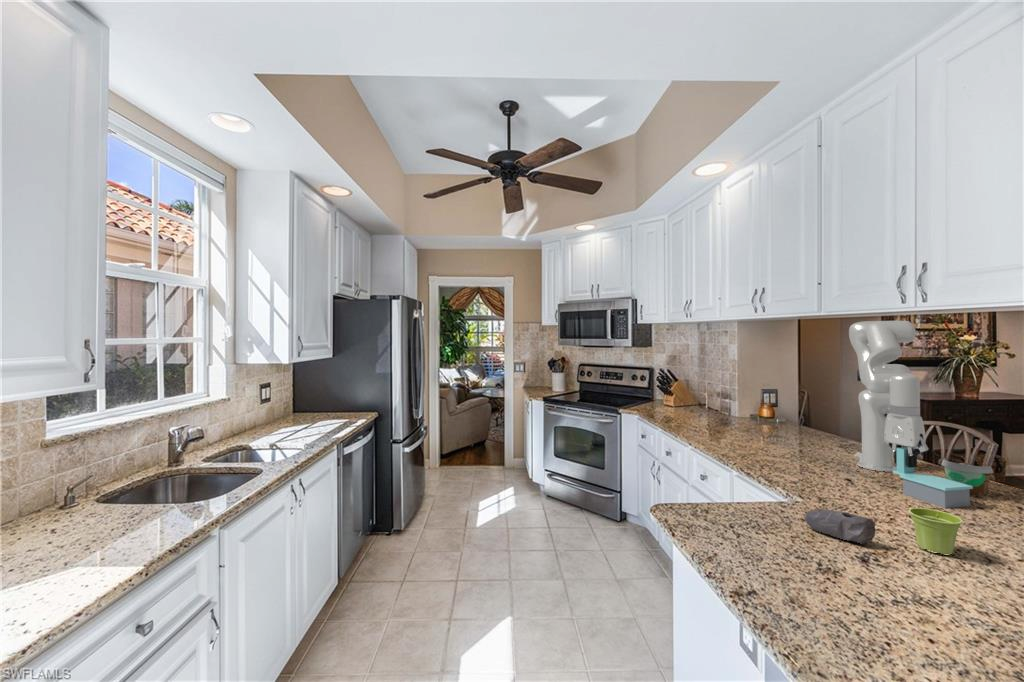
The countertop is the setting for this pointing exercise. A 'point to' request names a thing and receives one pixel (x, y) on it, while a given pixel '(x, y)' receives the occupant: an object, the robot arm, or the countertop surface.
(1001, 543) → the countertop surface
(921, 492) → the tub
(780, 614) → the countertop surface
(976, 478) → the food container
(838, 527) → the perforated stone tool
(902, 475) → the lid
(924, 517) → the plant pot
